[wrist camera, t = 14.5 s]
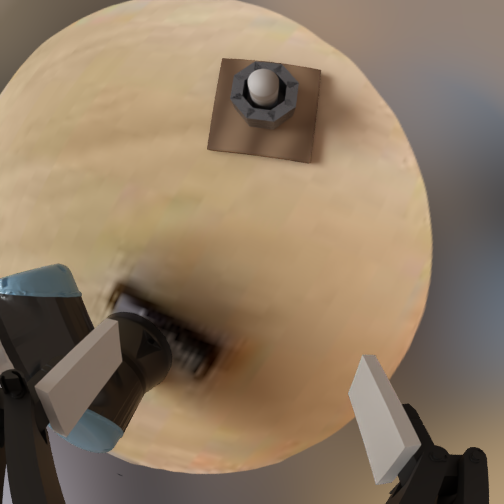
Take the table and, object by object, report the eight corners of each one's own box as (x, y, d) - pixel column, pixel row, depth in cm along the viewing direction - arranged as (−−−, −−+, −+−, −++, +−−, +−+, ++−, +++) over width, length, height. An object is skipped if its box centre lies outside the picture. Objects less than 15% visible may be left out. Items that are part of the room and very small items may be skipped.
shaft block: (209, 150, 39) (186, 138, 28) (223, 62, 35) (208, 26, 24) (308, 163, 38) (323, 156, 27) (319, 73, 35) (335, 39, 24)
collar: (232, 124, 35) (227, 116, 30) (241, 74, 33) (236, 59, 28) (290, 132, 34) (293, 124, 30) (297, 80, 33) (300, 67, 28)
